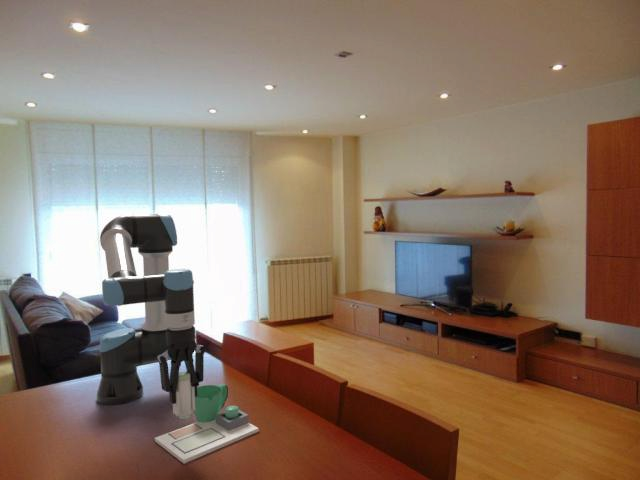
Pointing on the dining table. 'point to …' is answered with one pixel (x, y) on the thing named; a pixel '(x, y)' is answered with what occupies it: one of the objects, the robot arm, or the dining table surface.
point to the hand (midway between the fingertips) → (184, 411)
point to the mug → (210, 401)
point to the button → (231, 412)
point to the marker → (184, 395)
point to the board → (205, 436)
